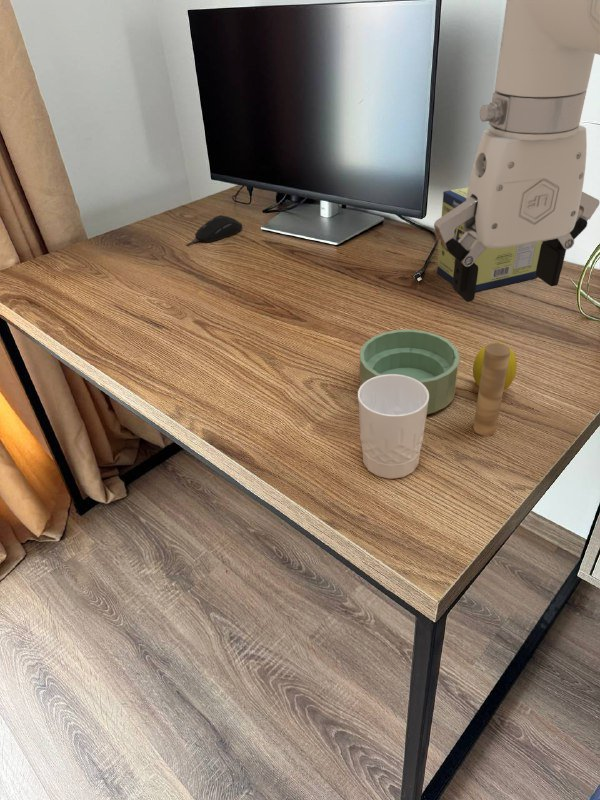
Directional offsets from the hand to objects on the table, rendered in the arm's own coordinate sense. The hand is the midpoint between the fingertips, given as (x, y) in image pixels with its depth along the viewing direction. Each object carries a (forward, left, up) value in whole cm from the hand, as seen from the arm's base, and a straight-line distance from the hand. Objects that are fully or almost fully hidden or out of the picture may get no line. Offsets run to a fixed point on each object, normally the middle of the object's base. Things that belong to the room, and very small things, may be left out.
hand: (505, 288), depth 62 cm
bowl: (+5, -12, -20) cm, 24 cm away
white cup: (+13, +1, -20) cm, 24 cm away
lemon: (-5, -7, -20) cm, 22 cm away
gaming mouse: (+23, -82, -20) cm, 87 cm away
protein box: (-23, -40, -20) cm, 51 cm away
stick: (-1, -1, -20) cm, 20 cm away
